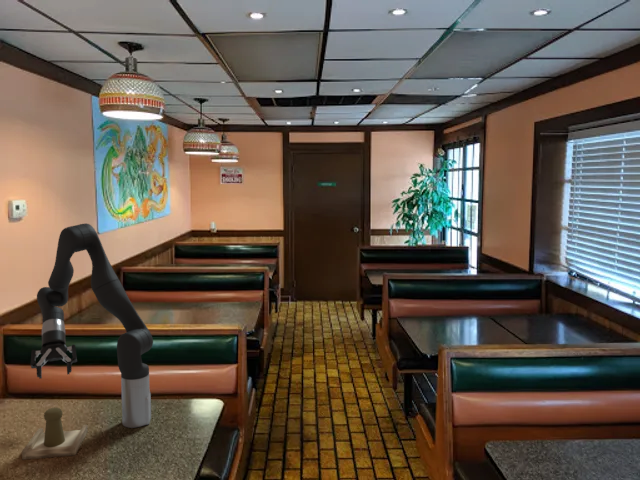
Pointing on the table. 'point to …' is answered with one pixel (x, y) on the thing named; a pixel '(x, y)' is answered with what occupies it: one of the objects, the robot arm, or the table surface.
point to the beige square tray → (65, 449)
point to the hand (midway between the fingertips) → (54, 375)
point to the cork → (53, 428)
